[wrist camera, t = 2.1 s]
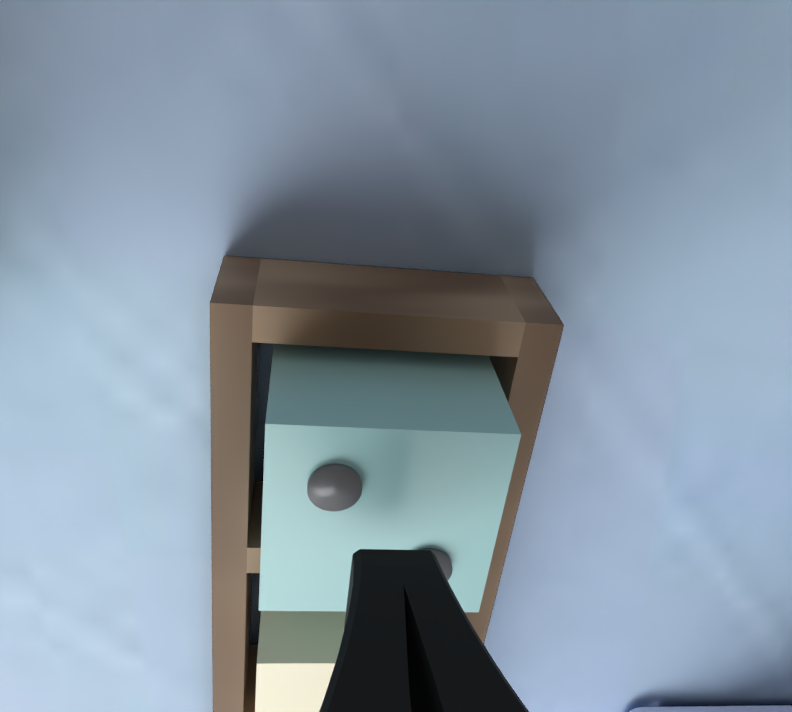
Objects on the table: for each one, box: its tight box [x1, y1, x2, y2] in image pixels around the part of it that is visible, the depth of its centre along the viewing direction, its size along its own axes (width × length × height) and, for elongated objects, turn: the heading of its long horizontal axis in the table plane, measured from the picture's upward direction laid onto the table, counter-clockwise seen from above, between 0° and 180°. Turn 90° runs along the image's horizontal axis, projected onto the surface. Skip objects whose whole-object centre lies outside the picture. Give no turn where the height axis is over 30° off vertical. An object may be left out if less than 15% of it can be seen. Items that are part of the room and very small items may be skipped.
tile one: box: [255, 611, 346, 712], centre depth 18 cm, size 5×5×3 cm
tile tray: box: [210, 256, 564, 712], centre depth 20 cm, size 7×19×2 cm, turn 173°
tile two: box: [259, 344, 521, 612], centre depth 15 cm, size 5×5×3 cm
